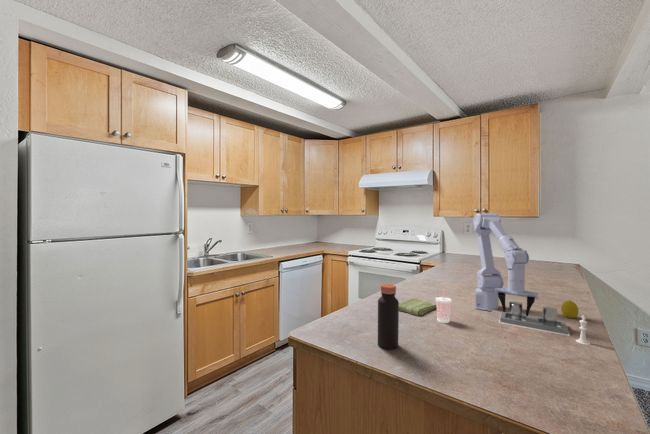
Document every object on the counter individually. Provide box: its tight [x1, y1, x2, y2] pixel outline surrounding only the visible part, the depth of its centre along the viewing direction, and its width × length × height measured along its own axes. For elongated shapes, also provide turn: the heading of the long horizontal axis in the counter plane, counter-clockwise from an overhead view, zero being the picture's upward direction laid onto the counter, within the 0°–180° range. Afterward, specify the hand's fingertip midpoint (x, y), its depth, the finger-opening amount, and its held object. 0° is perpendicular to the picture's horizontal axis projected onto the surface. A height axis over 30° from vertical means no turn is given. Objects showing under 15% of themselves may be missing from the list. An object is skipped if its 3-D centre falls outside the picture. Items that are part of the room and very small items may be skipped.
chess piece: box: [575, 314, 591, 346], centre depth 101 cm, size 5×5×10 cm
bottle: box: [377, 283, 400, 350], centre depth 100 cm, size 7×7×20 cm
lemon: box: [560, 299, 579, 319], centre depth 124 cm, size 6×6×8 cm
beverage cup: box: [435, 286, 452, 324], centre depth 122 cm, size 6×6×14 cm
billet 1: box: [508, 301, 523, 321], centre depth 120 cm, size 4×4×7 cm
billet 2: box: [542, 306, 558, 327], centre depth 114 cm, size 4×4×7 cm
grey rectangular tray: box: [497, 310, 571, 337], centre depth 117 cm, size 22×13×2 cm, turn 56°
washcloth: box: [399, 297, 437, 317], centre depth 137 cm, size 13×18×3 cm
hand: (515, 313), depth 120 cm, fingers open, 7 cm apart
